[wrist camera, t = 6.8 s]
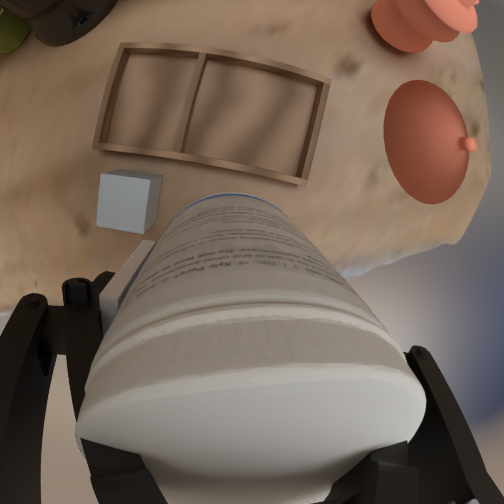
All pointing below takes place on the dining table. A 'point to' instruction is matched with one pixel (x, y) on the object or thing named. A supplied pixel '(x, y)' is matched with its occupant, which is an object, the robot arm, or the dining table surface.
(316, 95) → the caddy
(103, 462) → the robot arm
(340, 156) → the dining table surface
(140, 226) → the slate block
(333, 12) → the dining table surface
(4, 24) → the plant pot
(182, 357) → the supplement tub
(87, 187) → the dining table surface
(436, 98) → the ceramic vessels
